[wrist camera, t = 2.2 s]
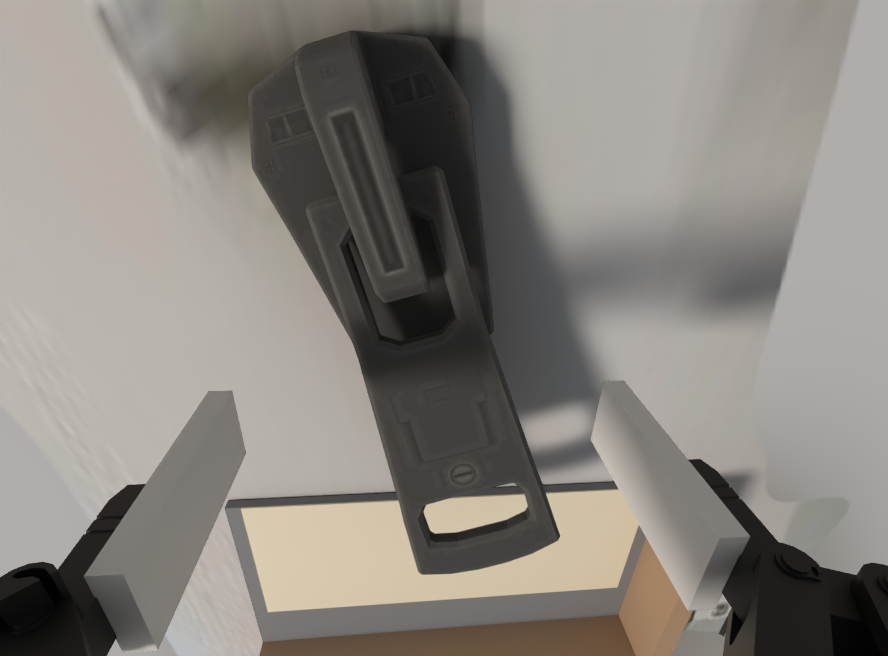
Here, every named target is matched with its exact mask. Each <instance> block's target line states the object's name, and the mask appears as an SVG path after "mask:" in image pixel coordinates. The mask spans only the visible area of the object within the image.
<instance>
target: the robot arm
mask: <svg viewBox="0 0 888 656" xmlns="http://www.w3.org/2000/svg"><path fill="white" fill-rule="evenodd" d="M591 441H592V443H593V445H594V447H595V448H596V450H597V452H598V454H599V455H600V457H601V459H602V461H603V463H604V464H605V466H606V468H607V470H608V471H609V473H610V475H611V477H612V478H613V480H614V482H615V484H616V485H617V487H618V489H619V491H620V492H621V494H622V496H623V498H624V500H625V501H626V503H627V505H628V507H629V508H630V510H631V512H632V514H633V515H634V517H635V519H636V521H637V522H638V524H639V526H640V528H641V529H642V531H643V533H644V535H645V536H646V538H647V540H648V542H649V544H650V545H651V547H652V549H653V551H654V552H655V554H656V556H657V558H658V559H659V561H660V563H661V565H662V566H663V568H664V570H665V572H666V573H667V575H668V577H669V579H670V581H671V582H672V584H673V586H674V588H675V589H676V591H677V593H678V595H679V596H680V598H681V600H682V602H683V603H684V605H685V607H686V609H687V610H701V609H714V608H716V606H717V604H718V602H719V599H720V597H721V595H722V594H723V595H724V597H725V598H726V600H727V601H728V603H729V604H730V606H731V607H732V608H731V610H730V612H729V614H728V616H727V618H726V620H725V622H724V624H723V626H722V628H721V630H720V632H719V634H721V635H722V636H724V635H725V633H726V635H725V643H724V651H723V656H888V566H886V565H883V564H877V563H869V564H865V565H863V566H862V568H861V569H860V571H859V572H858V574H857V575H853V574H849V573H843V572H840V571H835V570H830V569H826V568H822V567H820V566H819V565H818V564H817V562H816V561H814V560H813V559H812V558H811V557H809V556H808V555H807V554H806V553H804V552H802V551H800V550H799V549H797V548H795V547H793V546H790V545H787V544H784V543H779V542H778V541H777V540H776V539H775V538H774V536H773V535H772V534H771V533H770V532H769V531H768V530H767V528H766V527H765V526H764V525H763V524H762V523H761V521H760V520H759V519H758V518H757V517H756V516H755V515H754V513H753V512H752V511H751V510H750V509H749V508H748V506H747V505H746V504H745V503H744V502H743V501H742V500H741V499H739V496H738V495H737V494H736V493H735V491H734V490H733V489H732V488H729V484H728V483H727V482H726V481H725V480H724V479H723V478H722V476H721V475H720V474H719V473H718V472H717V471H716V470H715V469H713V468H712V467H710V466H709V465H708V464H706V463H705V462H703V461H702V460H701V459H693V460H688V459H687V458H686V457H685V455H684V454H683V453H682V452H681V450H680V449H679V448H678V447H677V445H676V444H675V443H674V442H673V441H672V439H671V438H670V437H669V436H668V434H667V433H666V432H665V431H664V429H663V428H662V427H661V426H660V425H659V423H658V422H657V421H656V420H655V418H654V417H653V416H652V415H651V413H650V412H649V411H648V410H647V409H646V407H645V406H644V405H643V404H642V402H641V401H640V400H639V399H638V397H637V396H636V395H635V394H634V393H633V391H632V390H631V389H630V388H629V386H628V385H627V384H626V383H625V381H604V382H603V387H602V391H601V396H600V400H599V405H598V409H597V414H596V418H595V423H594V427H593V432H592V436H591ZM245 454H246V451H245V446H244V442H243V437H242V433H241V428H240V424H239V419H238V415H237V410H236V406H235V402H234V397H233V393H232V391H208V393H207V394H206V396H205V397H204V399H203V400H202V402H201V403H200V405H199V406H198V408H197V409H196V411H195V412H194V414H193V415H192V417H191V418H190V420H189V421H188V423H187V424H186V426H185V427H184V429H183V430H182V431H181V433H180V434H179V436H178V437H177V439H176V440H175V442H174V443H173V445H172V446H171V448H170V449H169V451H168V452H167V454H166V455H165V457H164V458H163V460H162V461H161V463H160V464H159V466H158V467H157V468H156V470H155V471H154V473H153V474H152V476H151V477H150V479H149V480H148V482H147V483H146V484H138V485H127V486H126V487H125V488H124V489H122V490H121V491H120V492H119V493H117V494H116V495H115V496H114V497H112V498H111V499H110V500H109V501H108V502H107V504H106V505H105V506H104V508H103V509H102V511H101V512H100V513H99V515H98V516H97V519H96V520H94V521H93V523H92V524H91V525H90V527H89V528H88V530H87V531H86V534H85V535H83V536H82V538H81V539H80V540H79V542H78V543H77V544H76V546H75V547H74V548H73V550H72V551H71V552H70V554H69V555H68V556H67V558H66V559H65V560H64V562H63V563H62V565H61V566H60V567H59V569H58V570H57V569H56V568H55V566H54V565H53V564H49V563H45V562H39V563H31V564H27V565H25V566H22V567H19V568H17V569H14V570H12V571H10V572H8V573H7V574H5V575H3V576H2V577H0V656H107V654H108V652H109V650H110V648H111V647H112V645H113V643H114V641H115V639H116V640H117V642H118V644H119V646H120V648H121V650H122V651H123V653H126V652H140V651H153V650H158V649H159V646H160V644H161V642H162V640H163V637H164V635H165V633H166V631H167V629H168V626H169V624H170V622H171V620H172V617H173V615H174V613H175V611H176V608H177V606H178V604H179V602H180V599H181V597H182V595H183V593H184V591H185V588H186V586H187V584H188V582H189V579H190V577H191V575H192V573H193V570H194V568H195V566H196V564H197V561H198V559H199V557H200V555H201V553H202V550H203V548H204V546H205V544H206V541H207V539H208V537H209V535H210V532H211V530H212V528H213V526H214V523H215V521H216V519H217V517H218V515H219V512H220V510H221V508H222V506H223V503H224V501H225V499H226V497H227V494H228V492H229V490H230V488H231V485H232V483H233V481H234V479H235V477H236V474H237V472H238V470H239V468H240V465H241V463H242V461H243V459H244V456H245Z"/></svg>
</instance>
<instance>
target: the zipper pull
mask: <svg viewBox="0 0 888 656" xmlns="http://www.w3.org/2000/svg"><path fill="white" fill-rule="evenodd" d="M248 106H249V124H250V142H251V159H252V168H253V170H254V172H255V174H256V176H257V178H258V179H259V181H260V183H261V184H262V186H263V188H264V189H265V191H266V193H267V195H268V196H269V198H270V200H271V201H272V203H273V205H274V206H275V208H276V210H277V211H278V213H279V215H280V217H281V218H282V220H283V222H284V223H285V225H286V227H287V228H288V230H289V232H290V233H291V235H292V237H293V239H294V240H295V242H296V244H297V246H298V247H299V249H300V251H301V253H302V254H303V256H304V258H305V260H306V261H307V263H308V265H309V267H310V269H311V270H312V272H313V274H314V276H315V277H316V279H317V281H318V283H319V284H320V286H321V288H322V290H323V291H324V293H325V295H326V297H327V298H328V300H329V302H330V304H331V305H332V307H333V309H334V311H335V312H336V314H337V316H338V318H339V319H340V321H341V323H342V325H343V326H344V328H345V330H346V332H347V333H348V335H349V337H350V339H351V340H352V343H353V345H354V348H355V351H356V354H357V357H358V359H359V363H360V366H361V370H362V374H363V377H364V381H365V384H366V388H367V391H368V395H369V398H370V402H371V405H372V409H373V412H374V416H375V420H376V423H377V427H378V430H379V434H380V437H381V441H382V444H383V448H384V451H385V455H386V458H387V462H388V465H389V469H390V473H391V476H392V480H393V483H394V487H395V490H396V494H397V497H398V501H399V504H400V508H401V513H402V517H403V521H404V525H405V528H406V532H407V535H408V538H409V542H410V545H411V549H412V552H413V556H414V559H415V563H416V566H417V569H418V572H419V573H420V574H422V575H434V574H454V573H460V572H467V571H473V570H479V569H483V568H487V567H491V566H495V565H499V564H503V563H507V562H510V561H512V560H515V559H518V558H521V557H524V556H527V555H530V554H533V553H535V552H537V551H539V550H541V549H543V548H545V547H547V546H549V545H551V544H553V543H555V542H557V541H558V540H559V538H560V533H559V531H558V528H557V525H556V522H555V519H554V516H553V513H552V510H551V507H550V504H549V501H548V499H547V496H546V493H545V490H544V487H543V484H542V482H541V479H540V476H539V474H538V471H537V469H536V466H535V464H534V461H533V458H532V455H531V452H530V449H529V447H528V444H527V441H526V438H525V435H524V432H523V429H522V427H521V424H520V421H519V418H518V415H517V412H516V410H515V407H514V404H513V401H512V398H511V395H510V393H509V390H508V387H507V384H506V381H505V378H504V375H503V373H502V370H501V367H500V364H499V361H498V358H497V356H496V353H495V350H494V347H493V344H492V341H491V338H490V336H489V335H490V334H492V332H493V331H494V322H493V313H492V304H491V295H490V286H489V277H488V268H487V259H486V250H485V240H484V231H483V222H482V213H481V204H480V195H479V186H478V176H477V166H476V155H475V145H474V134H473V123H472V113H471V105H470V102H469V100H468V98H467V97H466V95H465V94H464V92H463V91H462V89H461V88H460V86H459V85H458V83H457V81H456V80H455V78H454V77H453V75H452V74H451V72H450V71H449V69H448V68H447V66H446V65H445V63H444V62H443V60H442V59H441V57H440V56H439V54H438V52H437V51H436V49H435V48H434V46H433V45H432V43H431V42H430V41H429V40H428V39H427V38H426V37H423V36H412V35H400V34H388V33H377V32H366V31H348V32H344V33H341V34H338V35H335V36H332V37H328V38H325V39H322V40H319V41H315V42H312V43H309V44H306V45H304V46H303V47H301V48H300V49H299V50H298V51H297V52H295V53H294V54H293V55H292V56H291V57H289V58H288V59H287V60H286V61H285V62H283V63H282V64H281V65H280V66H279V67H277V68H276V69H275V70H274V71H272V72H271V73H270V74H269V75H268V76H266V77H265V78H264V79H263V80H262V81H260V82H259V83H258V84H257V85H256V86H254V87H253V88H252V89H251V90H250V92H249V94H248ZM509 483H515V484H516V485H518V486H519V487H521V488H522V489H523V490H524V494H525V497H526V501H527V505H528V507H527V508H526V510H525V511H523V512H521V513H519V514H517V515H515V516H513V517H511V518H509V519H507V520H503V521H499V522H496V523H492V524H488V525H484V526H480V527H476V528H472V529H468V530H464V531H460V532H453V533H436V534H435V533H433V532H431V531H430V529H429V526H428V523H427V520H426V518H425V515H424V509H425V507H426V505H428V504H431V503H435V502H439V501H442V500H446V499H449V498H453V497H457V496H461V495H465V494H469V493H473V492H477V491H480V490H484V489H488V488H492V487H496V486H500V485H505V484H509Z"/></svg>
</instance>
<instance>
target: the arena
mask: <svg viewBox="0 0 888 656" xmlns="http://www.w3.org/2000/svg"><path fill="white" fill-rule="evenodd" d="M543 487H544V490H545V493H546V496H547V499H548V501H549V504H550V507H551V510H552V513H553V516H554V519H555V522H556V525H557V528H558V531H559V533H560V538H559V540H558V541H557V542H555V543H553V544H551V545H549V546H547V547H545V548H543V549H541V550H539V551H537V552H535V553H533V554H530V555H527V556H524V557H521V558H518V559H515V560H512V561H510V562H507V563H503V564H499V565H495V566H491V567H487V568H483V569H479V570H473V571H467V572H460V573H454V574H434V575H422V574H420V573H419V572H418V569H417V566H416V563H415V559H414V556H413V552H412V549H411V545H410V542H409V538H408V535H407V532H406V528H405V525H404V521H403V517H402V513H401V508H400V504H399V501H398V497H397V494H396V493H377V494H356V495H336V496H315V497H294V498H274V499H253V500H232V501H228V502H227V504H226V507H225V511H226V515H227V518H228V522H229V525H230V528H231V532H232V535H233V539H234V542H235V546H236V549H237V553H238V556H239V560H240V563H241V567H242V570H243V574H244V577H245V581H246V584H247V588H248V591H249V595H250V598H251V602H252V605H253V609H254V612H255V616H256V619H257V623H258V626H259V630H260V633H261V637H262V640H263V644H262V648H261V652H260V656H671V655H672V653H673V651H674V649H675V647H676V645H677V643H678V640H679V638H680V636H681V634H682V632H683V630H684V628H685V626H686V624H687V622H688V620H689V618H690V616H691V614H692V612H693V610H687V609H686V607H685V605H684V603H683V602H682V600H681V598H680V596H679V595H678V593H677V591H676V589H675V588H674V586H673V584H672V582H671V581H670V579H669V577H668V575H667V573H666V572H665V570H664V568H663V566H662V565H661V563H660V561H659V559H658V558H657V556H656V554H655V552H654V551H653V549H652V547H651V545H650V544H649V542H648V540H647V538H646V536H645V535H644V533H643V531H642V529H641V528H640V526H639V524H638V522H637V521H636V519H635V517H634V515H633V514H632V512H631V510H630V508H629V507H628V505H627V503H626V501H625V500H624V498H623V496H622V494H621V492H620V491H619V489H618V487H617V485H616V484H615V482H604V483H583V484H563V485H543ZM527 507H528V505H527V501H526V497H525V494H524V490H523V489H522V488H521V487H501V488H488V489H484V490H480V491H477V492H473V493H469V494H465V495H461V496H457V497H453V498H449V499H446V500H442V501H439V502H435V503H431V504H428V505H426V507H425V509H424V515H425V518H426V520H427V523H428V526H429V529H430V531H431V532H433V533H435V534H436V533H453V532H460V531H464V530H468V529H472V528H476V527H480V526H484V525H488V524H492V523H496V522H499V521H503V520H507V519H509V518H511V517H513V516H515V515H517V514H519V513H521V512H523V511H525V510H526V508H527Z"/></svg>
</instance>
